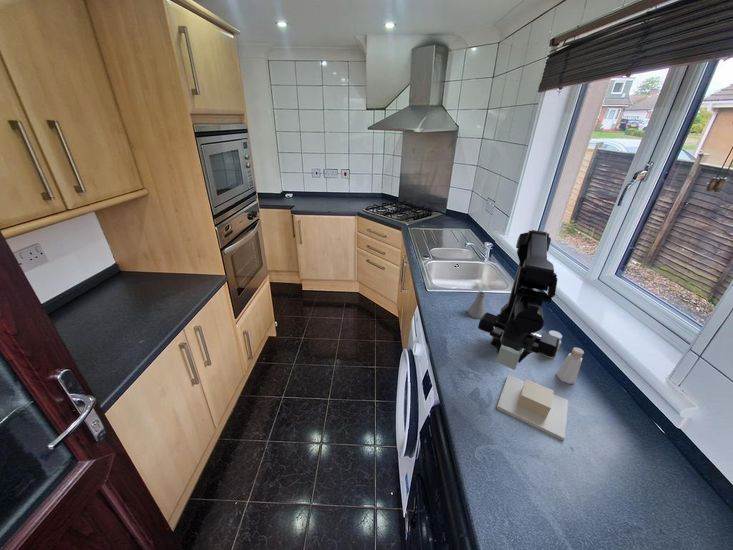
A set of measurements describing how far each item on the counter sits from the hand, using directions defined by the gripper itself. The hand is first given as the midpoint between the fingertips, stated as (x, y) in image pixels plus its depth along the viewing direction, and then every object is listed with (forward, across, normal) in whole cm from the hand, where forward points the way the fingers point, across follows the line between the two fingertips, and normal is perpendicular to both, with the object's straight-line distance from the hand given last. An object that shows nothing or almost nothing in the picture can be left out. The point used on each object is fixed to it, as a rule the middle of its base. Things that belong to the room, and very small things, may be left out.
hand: (508, 357), depth 83 cm
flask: (+12, -18, +34) cm, 40 cm away
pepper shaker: (+12, +16, +17) cm, 26 cm away
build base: (+12, +9, -1) cm, 15 cm away
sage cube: (+1, 0, 0) cm, 1 cm away
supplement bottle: (+12, +10, +26) cm, 30 cm away
